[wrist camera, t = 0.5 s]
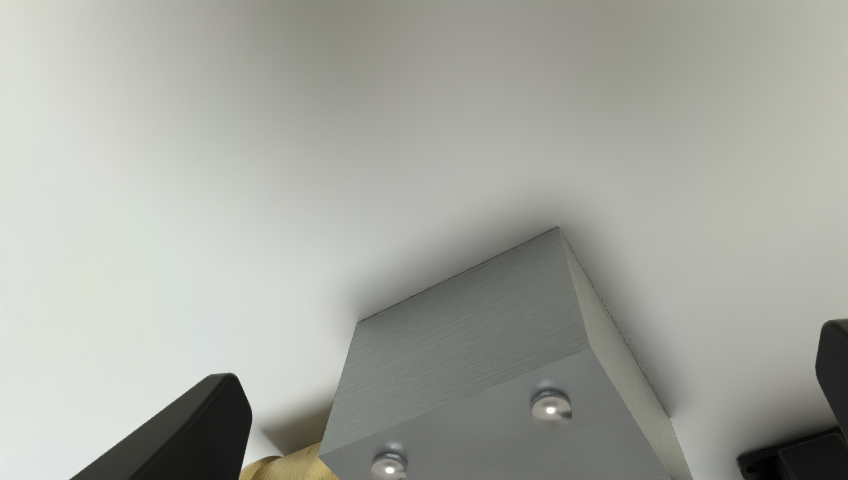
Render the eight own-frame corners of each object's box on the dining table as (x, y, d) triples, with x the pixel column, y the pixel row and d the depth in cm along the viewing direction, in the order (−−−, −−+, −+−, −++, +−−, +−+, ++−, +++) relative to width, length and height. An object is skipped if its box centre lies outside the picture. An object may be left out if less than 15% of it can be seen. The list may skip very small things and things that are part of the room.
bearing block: (558, 226, 23) (593, 356, 16) (669, 419, 27) (733, 584, 21) (356, 323, 26) (314, 466, 19) (486, 481, 31) (489, 642, 24)
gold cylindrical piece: (486, 336, 25) (489, 440, 20) (546, 420, 27) (562, 533, 22) (252, 437, 30) (206, 544, 25) (319, 503, 32) (290, 613, 27)
